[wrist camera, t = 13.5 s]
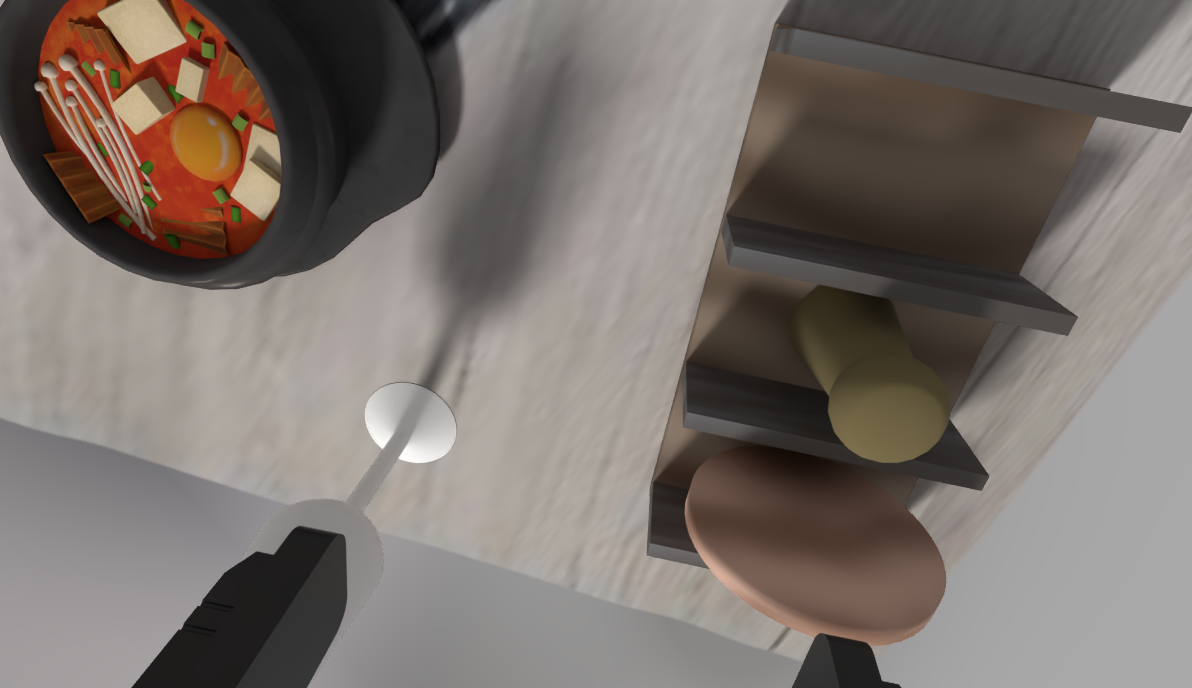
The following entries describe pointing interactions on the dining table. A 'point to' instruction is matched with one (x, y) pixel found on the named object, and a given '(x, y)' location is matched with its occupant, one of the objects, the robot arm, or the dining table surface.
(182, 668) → the robot arm
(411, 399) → the champagne flute
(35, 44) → the casserole
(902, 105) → the rack
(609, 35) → the dining table surface
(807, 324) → the cork
